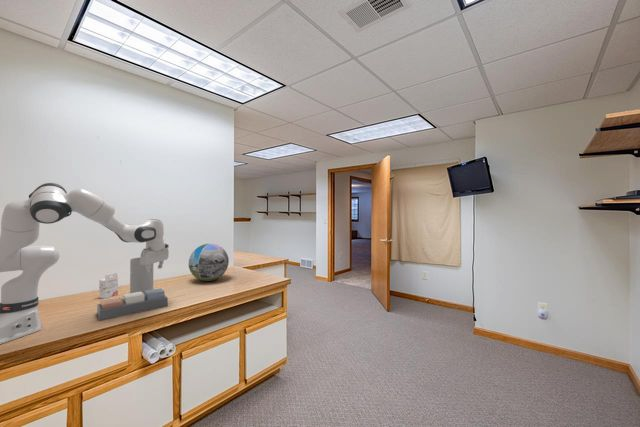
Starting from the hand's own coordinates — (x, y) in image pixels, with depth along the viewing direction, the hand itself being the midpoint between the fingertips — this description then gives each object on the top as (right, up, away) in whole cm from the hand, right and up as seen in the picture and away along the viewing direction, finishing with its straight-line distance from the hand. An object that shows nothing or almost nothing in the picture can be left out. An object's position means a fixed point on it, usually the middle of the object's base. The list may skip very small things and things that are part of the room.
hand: (154, 270), depth 154 cm
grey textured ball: (+7, -22, +59) cm, 63 cm away
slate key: (-1, -17, +1) cm, 17 cm away
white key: (-8, -17, -6) cm, 19 cm away
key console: (-8, -21, -6) cm, 23 cm away
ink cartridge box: (-41, -21, +17) cm, 49 cm away
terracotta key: (-15, -18, -13) cm, 27 cm away
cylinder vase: (-19, -21, +16) cm, 33 cm away
